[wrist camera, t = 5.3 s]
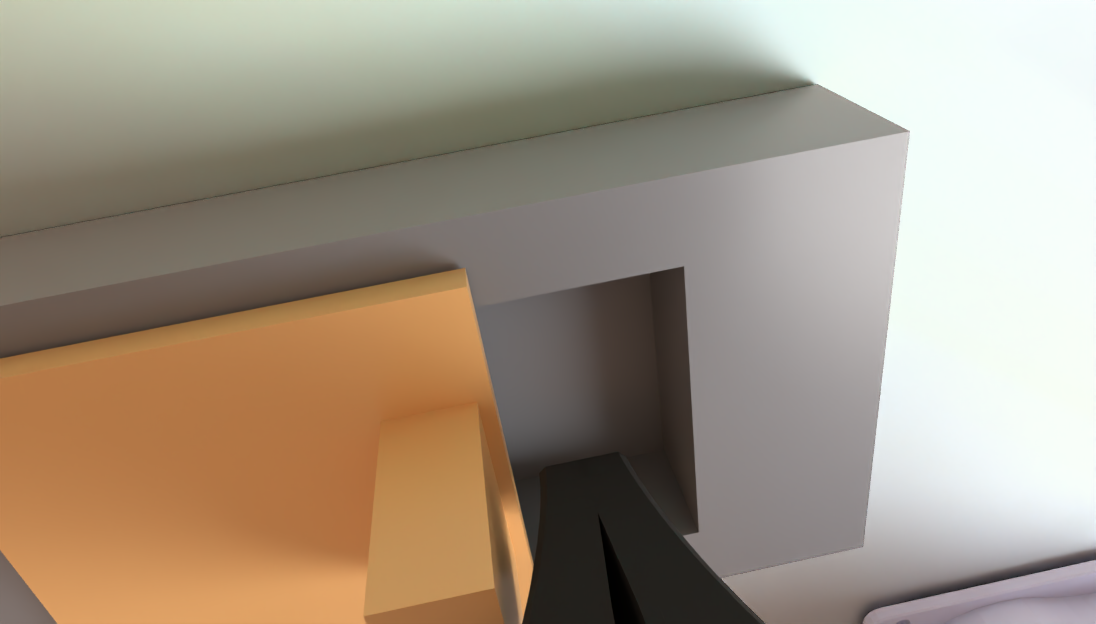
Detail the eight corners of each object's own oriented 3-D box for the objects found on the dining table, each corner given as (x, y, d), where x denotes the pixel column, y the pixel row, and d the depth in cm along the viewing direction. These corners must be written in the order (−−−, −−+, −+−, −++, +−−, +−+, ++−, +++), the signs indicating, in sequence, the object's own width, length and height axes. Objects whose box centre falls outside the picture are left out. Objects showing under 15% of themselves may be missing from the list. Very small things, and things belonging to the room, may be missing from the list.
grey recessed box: (817, 84, 13) (909, 130, 11) (801, 452, 18) (863, 546, 15) (-317, 297, 12) (-509, 403, 10) (-27, 627, 17) (-107, 759, 15)
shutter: (465, 267, 11) (482, 451, 7) (541, 596, 15) (576, 819, 11) (-90, 375, 10) (-352, 624, 7) (138, 684, 14) (43, 943, 11)
